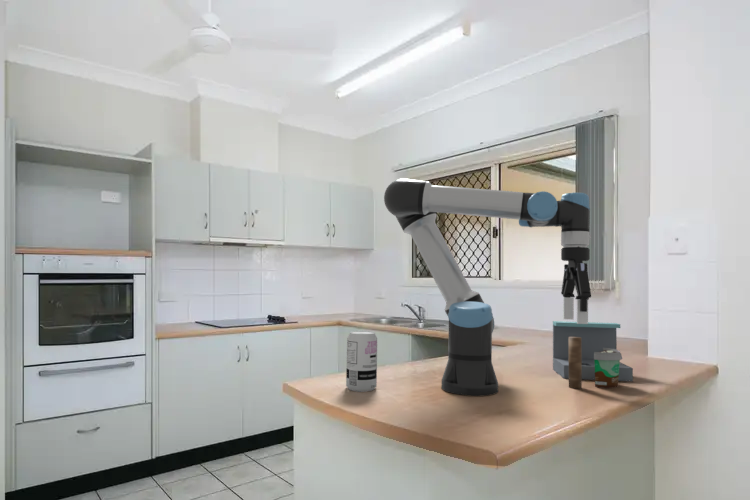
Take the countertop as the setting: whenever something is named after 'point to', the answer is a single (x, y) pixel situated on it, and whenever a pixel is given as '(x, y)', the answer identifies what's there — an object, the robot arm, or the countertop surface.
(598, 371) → the food container
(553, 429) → the countertop surface
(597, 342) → the socket
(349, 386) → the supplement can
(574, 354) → the peg
